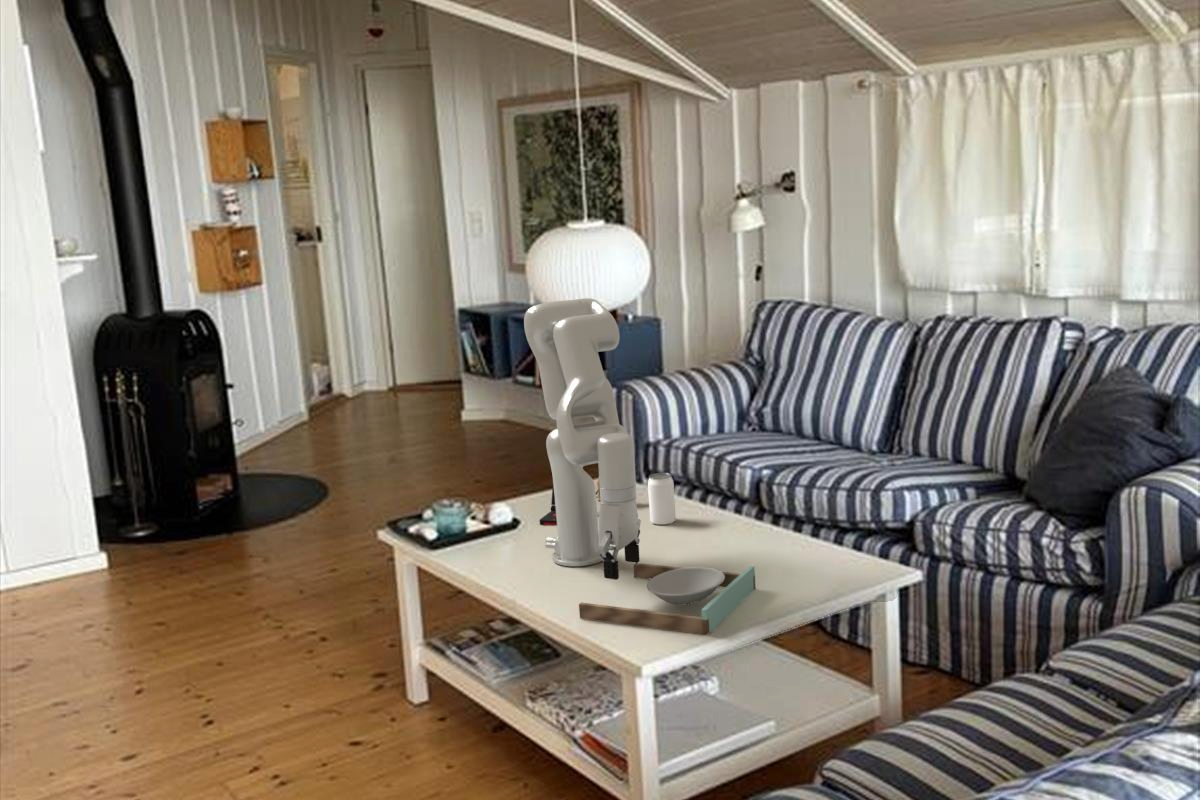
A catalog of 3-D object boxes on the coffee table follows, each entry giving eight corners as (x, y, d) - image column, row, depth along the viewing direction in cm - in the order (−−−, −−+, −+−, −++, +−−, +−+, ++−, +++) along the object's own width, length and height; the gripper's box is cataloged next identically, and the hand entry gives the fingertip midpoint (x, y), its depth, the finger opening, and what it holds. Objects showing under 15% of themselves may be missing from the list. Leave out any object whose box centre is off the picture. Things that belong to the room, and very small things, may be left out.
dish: (691, 584, 261) (689, 561, 260) (742, 598, 250) (740, 575, 249) (632, 608, 249) (630, 585, 248) (683, 624, 239) (681, 600, 238)
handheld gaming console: (538, 525, 311) (535, 488, 309) (556, 511, 322) (553, 475, 320) (572, 527, 308) (569, 489, 306) (589, 513, 319) (586, 476, 317)
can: (676, 524, 303) (673, 478, 300) (650, 526, 303) (647, 480, 301) (675, 517, 309) (672, 471, 307) (650, 518, 309) (646, 473, 307)
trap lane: (579, 618, 246) (578, 594, 245) (636, 575, 268) (634, 554, 267) (707, 634, 233) (706, 610, 232) (755, 588, 255) (754, 566, 254)
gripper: (620, 478, 260) (624, 553, 264) (582, 504, 245) (587, 582, 249) (652, 482, 257) (655, 557, 261) (615, 508, 242) (619, 587, 246)
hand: (622, 569), depth 255 cm, fingers open, 9 cm apart
